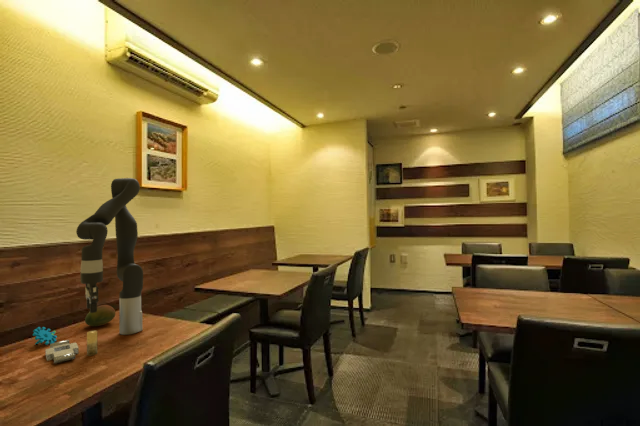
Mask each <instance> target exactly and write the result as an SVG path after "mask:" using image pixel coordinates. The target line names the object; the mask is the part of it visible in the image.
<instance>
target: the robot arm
mask: <svg viewBox="0 0 640 426" xmlns="http://www.w3.org/2000/svg"><path fill="white" fill-rule="evenodd" d="M140 188H141V186H140V182H139V181H138V180H137V179H136V178H134V177H133V178H131V177H124V178H123V177H121V178H115V179H113V180H112V181H111V185H110V192H111V199H108V200H107V201H105V202H104V203H102V204H101V205H100V206H99V207H98V209H97V210H96V211H95V212H94V214H92V215H90V216H89V217H87V218H85V219H84V220H83V221H81V222H80V223H79V224H78V226H77V228H76V236H77V237H78V238H79V239H81V240H92V242H91V244H89V245H84V246H83V247H81V262H80V263H81V264H80V284H84V285H85V287H84V288H85V289H84V290H85V295H84V296H85V299H86V309H89V312H90V313H94V312H97V307H98V303H99V290H100V289H99V286H98V285H97V284H98V283H102V282H103V281H104V264H103V263H104V262H103V249H104V245H105V242H106V239H107V236H108V227H107V226H108V225H110V224H111V223H112V221H113V220H114V225H115V240H116V241H115V242H116V253H117V258H116V259H117V260H116V261H117V262H116V275H117V278H118V279H119V281H121V282H122V289H121V291H119V294H118V295H119V311H118V312H119V315H118V316H119V318H118V319H119V326H118V327H119V332H118V333H119V334H120V335H125V336H126V335H128V336H129V335H134V334H136V333H138V332H141V331H143V311H142V292H143V289H144V288H143V287H144V270H143V268H142V266H140V265H139V264H136V263H135V258H134V257H135V256H134V255H135V253H134V252H135V248H136V244H137V240H138V235H139V234H138V223H137V221H136V218H135V217H134V216H133V214H132V213H131V212H130V211H129V209H128V207H127V205H128V204H129V203H130V202H131V201H132V200H133V199H134V198H136V197H137V195H138V194H139V192H140V190H141V189H140Z"/></svg>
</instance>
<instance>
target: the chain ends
mask: <svg viewBox="0 0 640 426" xmlns="http://www.w3.org/2000/svg"><path fill="white" fill-rule="evenodd" d="M79 349H80V348H79V345H78V343H77V342H71V343H70V339H66V340H61V341H55V342H54V343H51V344H50V343H49V348H45V360H46V362H48V361H52V360H53V364H55V365H56V364H59V363H63V362H67V361H72V360H74V359H76V355H77V354H79Z"/></svg>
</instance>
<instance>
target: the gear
mask: <svg viewBox="0 0 640 426" xmlns="http://www.w3.org/2000/svg"><path fill="white" fill-rule="evenodd" d="M32 332H33V333H32V336H33V337H34V340H36V342H35V343H34V344H35V345H36V344H38V345H39V344H43V343H44V345H46V346H48V345H50V344H51V343H56V342H57V338H58V336H57V335H56V332H57V331H56V330H53V331H51V329H50V328H46V327H45V326H42V327H41V326H38V327H36V328H35V329H33V330H32ZM36 346H37V345H36Z"/></svg>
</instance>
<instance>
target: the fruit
mask: <svg viewBox="0 0 640 426" xmlns="http://www.w3.org/2000/svg"><path fill="white" fill-rule="evenodd" d="M115 317H116V310H115V308H114V307H112V306H111V305H109V304H102V305H97V312H94V313H90V311H89V312H88V313H87V314H86V316H85V317H84V323H85V325H87V326H90V327H100V326H103V325H107V324H108V323H109V322H111V321H113V320H114V318H115Z"/></svg>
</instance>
